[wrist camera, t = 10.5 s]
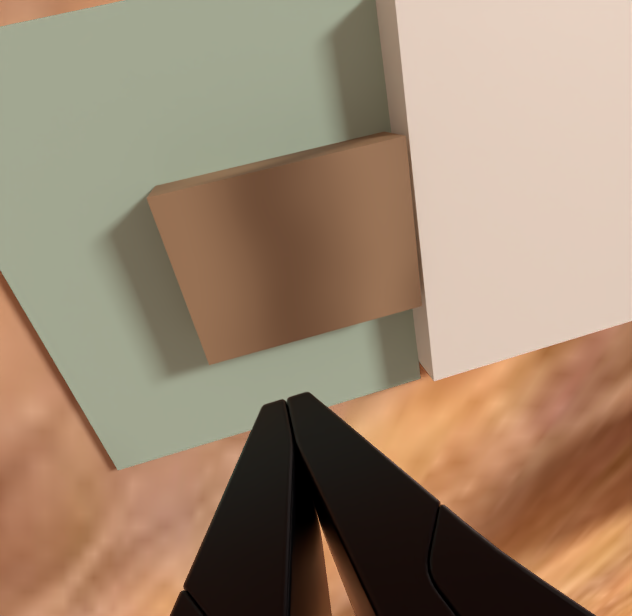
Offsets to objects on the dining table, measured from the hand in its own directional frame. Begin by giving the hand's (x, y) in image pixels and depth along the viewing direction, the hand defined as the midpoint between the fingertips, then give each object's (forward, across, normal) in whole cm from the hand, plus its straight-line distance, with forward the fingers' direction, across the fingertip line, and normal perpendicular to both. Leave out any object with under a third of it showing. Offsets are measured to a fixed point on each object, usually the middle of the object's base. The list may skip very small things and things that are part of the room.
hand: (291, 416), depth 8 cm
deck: (+10, -14, 0) cm, 17 cm away
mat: (+10, +1, 0) cm, 10 cm away
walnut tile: (+10, -2, 0) cm, 10 cm away
